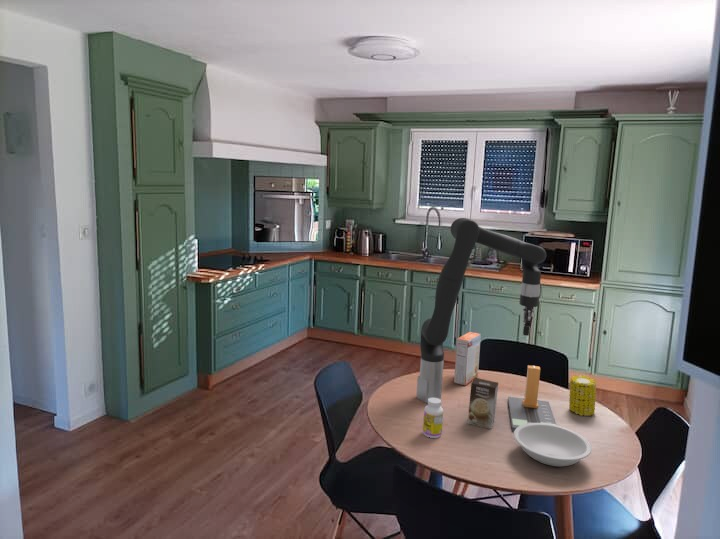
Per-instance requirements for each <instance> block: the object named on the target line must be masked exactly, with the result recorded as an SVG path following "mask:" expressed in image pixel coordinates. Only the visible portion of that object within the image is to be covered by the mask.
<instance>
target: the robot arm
mask: <svg viewBox="0 0 720 539" xmlns="http://www.w3.org/2000/svg"><path fill="white" fill-rule="evenodd" d="M450 234H451V236H452V237H453V239H455V241H454V244H453V249H452V252H451V254H450V255H449V258H447V260H446V262H445V263H444V265H443V267H442V268H441V271H440V274H439V276H438V280H437V283H436V288H435V294H434V295H435V297H434V308H433V313H432V316H431V318H428V319H426V320H424V322H423V323H422V325H421V329H420V348H419V349H420V364H419V366H420V367H419V375H417V381H416V382H417V383H416V395H415V396H416V397H417V398H416V399H418V400H420V401H421V402H422V403H423V402H424V404H428V399H429V398H438V399H440V400H441V401H442V392H443V391H442V389H443V388H442V386H443V373H444V362H445V361H444V360H445V359H444V358H445V351H444V343H445V341H446V340H447V338H448V333H449V331H450V330H449V329H450V324H451V320H452V315H453V312H454V309H455V306H456V302H457V301H458V296H459V294H460V291H461V288H462V284H463V282H464V278H465V274H466V271H467V267H468V264H469V260H470V258H471V254H472V252H473V250H474V248H475V245H476V244H480V245H483V246H485V247H488V248H490V249H493V250H495V251H498V252H500V253H503V254H505V255H509V256H510V257H511V256H512V257H516V258H519V259H521V265H522V278H521V285H520V294H519V301H518V302H519V305H520V306H522V307H524V308H522V323H523V324H522V325H523V329H522V330H523V331H522V333H523V336H527V337H528V336H530V329H531V326H532V323H533V319H534V317H533V316H534V309H533V308H536V307H538V306H540V305H539V304H540V297H541V296H540V295H541V280H542V273H541V270H540V269H539V266H538V265H540V264H542V263H544V262H545V261H546V258H547V251H546V249H544V248H543V247H542V246H539V245H535V244H533V243H529V242H525V241H523V240H521V239H518V238H516V237H512V236H510V235H506V234H504V233H500V232H496V231H492V230H489V229H487V228H483V227H481V226H480V225H479V224H478V223H477V222H476V221H475V220H473V219H470V218H466V217H459V218H457V219H455V220H454V221H453V222H452V223H451V225H450Z"/></svg>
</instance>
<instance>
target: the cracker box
mask: <svg viewBox="0 0 720 539" xmlns="http://www.w3.org/2000/svg"><path fill="white" fill-rule="evenodd" d="M481 338H482V337H481V333H478V332H474V331H469V332H467V333H464V334H463V335H461V336H459V337H458V338H456V345H455V346H456V348H455V363H454V364H455V365H454V380H453V383H454V384H458V385H460V386H461V385H462V386H467V385H469V384H470V383H472V382H473V380H474V378H479V377H478V376H479V366H480V365H479V364H480V350H481Z"/></svg>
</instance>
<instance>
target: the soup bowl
mask: <svg viewBox="0 0 720 539" xmlns="http://www.w3.org/2000/svg"><path fill="white" fill-rule="evenodd" d="M513 438H514V440H515V442H516V443H517V444H518V445H520V447H521V449H522V450H523V451H524V452H525V453H526V454H527V455H528V457H531V458H532V459H534V460H535V461H537V462H539V463H542V464H544V465H548V466H551V467H567V466H571V465H574V464H576V463H578V462H580V461H581V460H583V459H586V458H587V457H589V456H590V455H591V454H592V451H593V450H592V445H591V443H590V442H589V440H588V439H587V438H586V437H584V436H583V435H581V434H580V433H578V432H577V431H575V430H572V429H570V428H567V427H564V426H560V425H559V424H558V425H557V424H556V425H553V424H547V423H528V424H523V425H521V426H519V427H517V428H516V429H515V431H514V432H513Z"/></svg>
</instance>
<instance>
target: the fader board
mask: <svg viewBox="0 0 720 539" xmlns="http://www.w3.org/2000/svg"><path fill="white" fill-rule="evenodd" d="M524 398H525V397H524ZM524 398H523V397H514V396H508V397H507V405H508V409H509V410H508V412H509V418H510V424H511V431H512V433H514V431H515V429H516V428H517V427H519V426H521V425H523V424H528V423H547V424H553V425H557V422H556V419H555V416H554V414H553V410H552V406H551V404H550V401H547V400H538V399H537V403H538V408H531V407H523V403H522V400H524Z"/></svg>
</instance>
